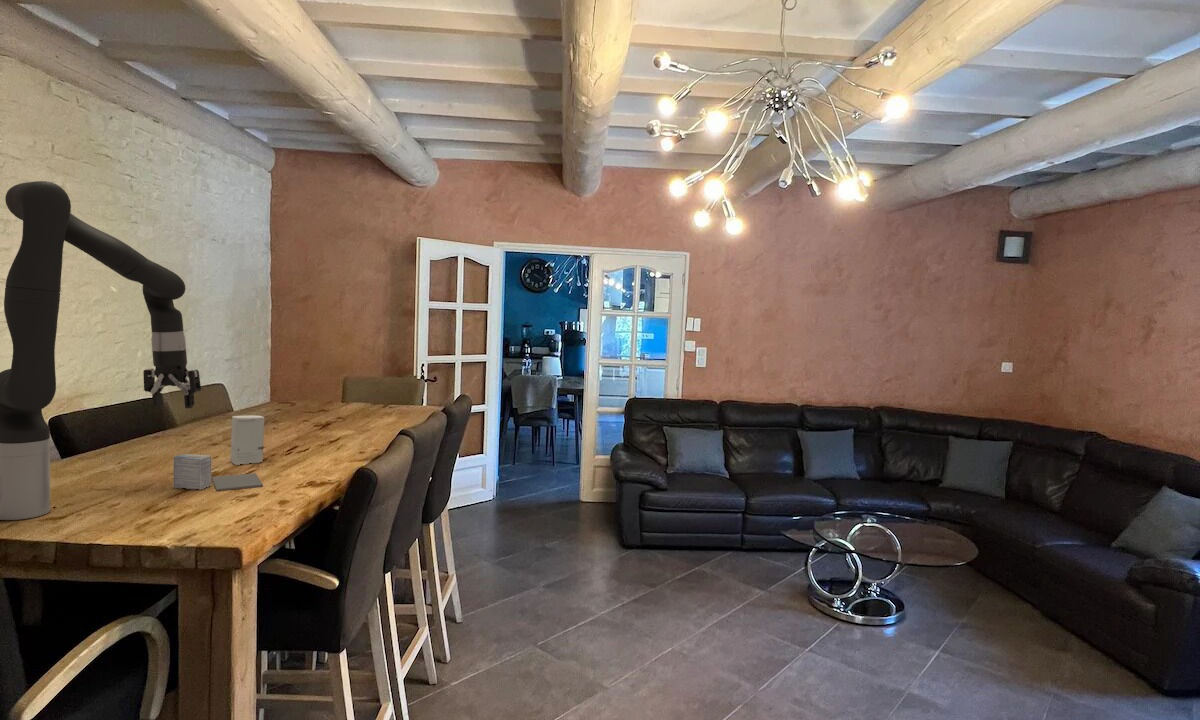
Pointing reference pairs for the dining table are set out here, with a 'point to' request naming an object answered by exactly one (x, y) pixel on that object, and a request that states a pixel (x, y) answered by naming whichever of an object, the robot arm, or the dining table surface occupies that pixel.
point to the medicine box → (192, 471)
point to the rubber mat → (236, 482)
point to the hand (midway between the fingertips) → (174, 407)
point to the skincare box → (247, 439)
